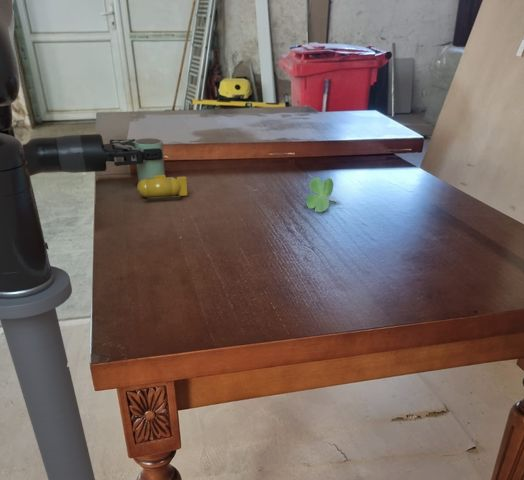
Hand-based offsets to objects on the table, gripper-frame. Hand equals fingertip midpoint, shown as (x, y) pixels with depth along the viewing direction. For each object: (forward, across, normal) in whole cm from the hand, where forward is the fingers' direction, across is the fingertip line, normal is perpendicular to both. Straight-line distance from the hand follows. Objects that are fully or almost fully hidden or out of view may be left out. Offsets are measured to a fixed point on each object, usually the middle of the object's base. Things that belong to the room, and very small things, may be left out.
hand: (159, 150), depth 116 cm
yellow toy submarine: (-1, -11, +7) cm, 13 cm away
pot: (-2, 0, +6) cm, 7 cm away
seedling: (+30, -26, +7) cm, 40 cm away
